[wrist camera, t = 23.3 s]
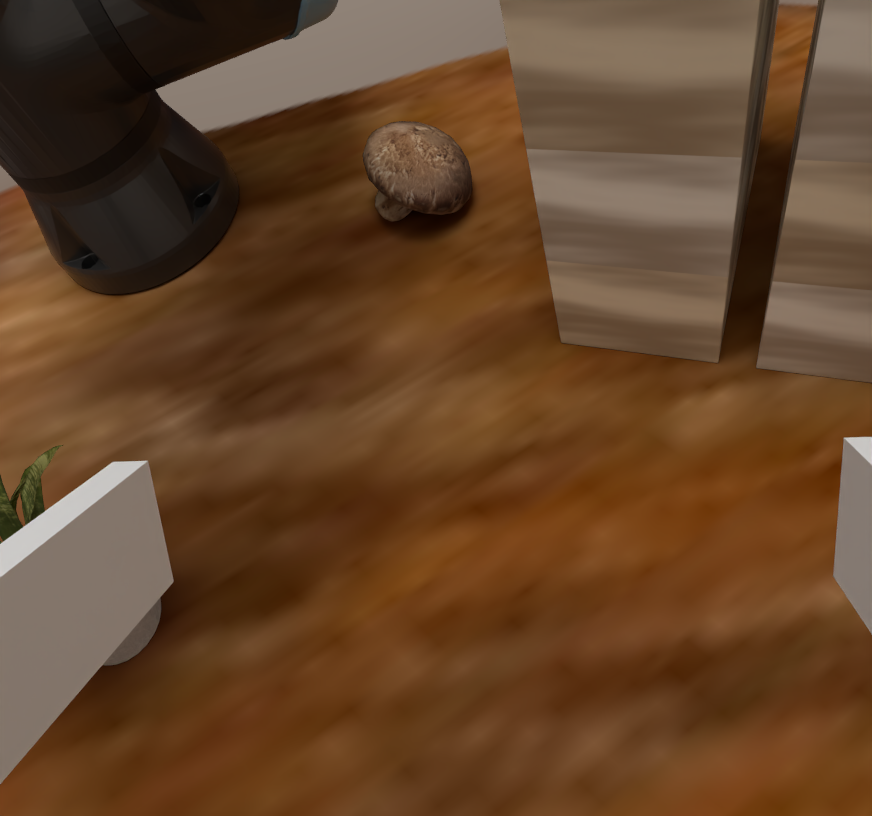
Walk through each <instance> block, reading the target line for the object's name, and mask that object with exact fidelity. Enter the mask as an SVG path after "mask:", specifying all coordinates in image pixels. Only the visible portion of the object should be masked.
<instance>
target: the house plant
mask: <svg viewBox="0 0 872 816" xmlns="http://www.w3.org/2000/svg"><path fill="white" fill-rule="evenodd" d="M60 446H63V445H59V446H56V447H53V448H52V449H50V450H48V451H47V452H45V453H43V454H42V455H41V456H39V457H38V458H37V460H36V461H35V462H34V463H33V464H32V465H31V466H29V467H28V468H27V469H25V471H24V473H23V475H22V478H21V482H20V484H19V485H18V487H17V489H16V490H15V492H14V494H13V495H12V498H11V500H10V501H9V499H8V496H7V493H6V491H5V488H4V485H3V483H2V479H1V476H0V536H1V538H2V540H3V541H5V540H6V539H8V538H9V537H10V536H12V535H13V534H15V533H16V532H17V531H19V530H20V529H21V528H23V526H22V524H21V522H20V521H19V519H18V515H17V512H16V504H17V499H18V496H19V493H20V495H21V500H22V509H23V514H24V519H25V524H26V525H27V524H28V523H30V522H31V521H32V520H34V519H35V518H37V517H38V516H39V515H41V514H42V513H43V512H45V509H44V503H43V496H42V486H41V478H40V477H41V475H42V473H43V471H44V470H45V469H46V467H47V466H48V464H49V463H50V461H51V459H52V458H53V456H54V454H55V452H56V451H57V449H58V448H59V447H60ZM1 543H2V542H1V541H0V544H1ZM160 615H161V599H160V598H159V599H158V601H157V602H156V603H155V604H154V605H153V606H152V608H151V609H150V610H149V611H148V612H147V613H146V615H145V616H144V617H143V618H142V619H141V620H140V622H139V623H138V624H137V625H136V626H135V627H134V629H133V630H132V631H131V632H130V633H129V635H128V636H127V637H126V638H125V639H124V640H123V642H122V643H121V644H120V645H119V646H118V647H117V649H116V650H115V651H114V652H113V653H112V654H111V656H110V657H109V658H108V659H107V660H106V661H105V663H104V664H103V665H105V666H106V665H117V664H119V663H122V662H125V661H128V660H129V659H131V658H132V657H134V656H135V655H137V654H138V653H139V652H140V651H141V650H142V649H143V648H144V647H145V646H146V645H147V644H148V642H149V641H150V639H151V638H152V636H153V635H154V633H155V631H156V629H157V626H158V624H159V621H160Z"/></svg>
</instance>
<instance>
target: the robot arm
mask: <svg viewBox="0 0 872 816" xmlns="http://www.w3.org/2000/svg"><path fill="white" fill-rule="evenodd" d="M337 3H338V0H0V166H2V167H3V169H4V170H6V172H7V173H8V174H9V175H10V176H11V177H12V178H13V179H14V180H15V181H16V183H17V184H18V185H19V186H20V187H21V188H22V190H23V191H24V193H25V195H26V197H27V200H28V202H29V204H30V206H31V209H32V211H33V213H34V215H35V218H36V220H37V222H38V225H39V227H40V229H41V231H42V234H43V236H44V238H45V241H46V243H47V245H48V247H49V250H50V252H51V254H52V255H53V257H54V258H55V260H56V261H57V262H58V264H59V265H60V266H61V267H62V268H63V269H64V270H65V271H66V272H67V273H68V274H69V275H70V276H71V277H72V278H73V279H74V280H75V281H76V282H77V283H78V284H80V285H81V286H83V287H84V288H86V289H89V290H91V291H94V292H98V293H104V294H126V293H132V292H137V291H141V290H145V289H148V288H151V287H154V286H157V285H159V284H162V283H164V282H166V281H168V280H170V279H172V278H174V277H176V276H177V275H179V274H181V273H182V272H184V271H186V270H187V269H188V268H190V267H191V266H193V265H194V264H195V263H197V262H198V261H199V260H200V259H201V258H203V257H204V256H205V255H206V254H207V253H208V252H209V251H210V250H211V249H212V248H213V247H214V246H215V245H216V243H217V242H218V241H219V240H220V238H221V237H222V236H223V234H224V233H225V231H226V230H227V228H228V226H229V225H230V223H231V221H232V219H233V216H234V214H235V211H236V208H237V204H238V198H239V187H238V181H237V178H236V176H235V174H234V172H233V170H232V169H231V167H230V165H229V164H228V162H227V160H226V159H225V157H224V155H223V154H222V152H221V151H220V150H219V148H218V147H217V146H216V145H215V144H214V143H213V142H212V141H211V140H209V139H208V138H207V137H206V136H205V135H203V134H202V133H201V132H200V131H199V130H197V129H196V128H195V127H193V126H192V125H191V124H190V123H189V122H188V121H186V120H185V119H184V118H183V117H182V116H180V115H179V114H178V113H177V112H176V111H174V110H173V109H172V108H171V107H169V106H168V105H167V104H166V103H165V102H163V100H162V99H161V98H160V96H159V95H158V93H157V92H156V90H155V89H158V88H160V87H163V86H165V85H167V84H170V83H172V82H175V81H177V80H180V79H182V78H185V77H187V76H190V75H192V74H195V73H197V72H200V71H202V70H205V69H207V68H210V67H212V66H215V65H217V64H220V63H222V62H225V61H227V60H230V59H232V58H235V57H237V56H240V55H242V54H245V53H247V52H250V51H252V50H255V49H257V48H260V47H262V46H265V45H267V44H270V43H272V42H275V41H278V40H280V39H285V40H286V39H292V38H294V37H296V36H297V35H298V34H299V33H300V32H301V31H302V30H304V29H306V28H308V27H310V26H312V25H314V24H316V23H318V22H320V21H323V20H325V19H326V18H328V17H329V16H330V15H331V14H332V12H333V11H334V9H335V7H336V5H337ZM833 577H834V578H835V580H836V581H837V583H838V584H839V586H840V587H841V589H842V590H843V592H844V593H845V595H846V596H847V598H848V599H849V601H850V602H851V604H852V605H853V607H854V608H855V610H856V611H857V613H858V614H859V616H860V617H861V619H862V620H863V622H864V623H865V625H866V626H867V628H868V629H869V631H870V632H871V634H872V437H852V438H844V443H843V456H842V469H841V482H840V496H839V509H838V522H837V535H836V548H835V561H834V575H833ZM173 582H174V580H173V575H172V571H171V566H170V561H169V557H168V552H167V547H166V543H165V538H164V533H163V528H162V524H161V519H160V514H159V510H158V505H157V500H156V496H155V491H154V486H153V481H152V477H151V472H150V467H149V463H148V461H126V462H112V463H111V464H109V465H108V466H107V467H105V468H104V469H102V470H101V471H100V472H98V473H97V474H96V475H94V476H93V477H91V478H90V479H89V480H87V481H86V482H85V483H83V484H82V485H80V486H79V487H78V488H76V489H75V490H74V491H72V492H71V493H70V494H68V495H67V496H65V497H64V498H63V499H61V500H60V501H59V502H57V503H56V504H54V505H53V506H52V507H50V508H49V509H48V510H46V511H45V512H43V513H42V514H41V515H39V516H38V517H37V518H35V519H34V520H32V521H31V522H30V523H28V524H27V525H26V526H24V527H23V528H21V529H20V530H19V531H17V532H16V533H15V534H13V535H12V536H10V537H9V538H8V539H6V540H5V541H4V542H2V543H1V544H0V784H1V783H2V782H3V780H4V779H5V778H6V777H7V776H8V775H9V773H10V772H11V771H12V770H13V769H14V768H15V766H16V765H17V764H18V763H19V762H20V761H21V759H22V758H23V757H24V756H25V755H26V754H27V752H28V751H29V750H30V749H31V748H32V747H33V745H34V744H35V743H36V742H37V741H38V740H39V738H40V737H41V736H42V735H43V734H44V733H45V731H46V730H47V729H48V728H49V727H50V726H51V724H52V723H53V722H54V721H55V720H56V719H57V717H58V716H59V715H60V714H61V713H62V712H63V710H64V709H65V708H66V707H67V706H68V705H69V703H70V702H71V701H72V700H73V699H74V698H75V696H76V695H77V694H78V693H79V692H80V691H81V689H82V688H83V687H84V686H85V685H86V684H87V682H88V681H89V680H90V679H91V678H92V677H93V675H94V674H95V673H96V672H97V671H98V670H99V668H100V667H101V666H102V665H103V664H104V663H105V661H106V660H107V659H108V658H109V657H110V656H111V654H112V653H113V652H114V651H115V650H116V649H117V647H118V646H119V645H120V644H121V643H122V642H123V640H124V639H125V638H126V637H127V636H128V635H129V633H130V632H131V631H132V630H133V629H134V627H135V626H136V625H137V624H138V623H139V622H140V620H141V619H142V618H143V617H144V616H145V615H146V613H147V612H148V611H149V610H150V609H151V608H152V606H153V605H154V604H155V603H156V602H157V601H158V599H159V598H160V597H161V596H162V595H163V594H164V592H165V591H166V590H167V589H168V588H169V587H170V585H171V584H172V583H173Z"/></svg>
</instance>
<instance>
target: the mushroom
mask: <svg viewBox="0 0 872 816" xmlns="http://www.w3.org/2000/svg"><path fill="white" fill-rule="evenodd" d="M363 161H364V165H365V168H366V171H367V175H368V178H369V180H370V181H371V182H372V183H373V184H374V185H375V187H376V188H377V189H378V192H377V195H376V197H375V207H376V209H377V210H378V212H379V214H380V215H381V216H382V217H383V218H384V219H387V220H389V221H391V222H392V221H399V220H401V219H403V218H404V217H406V216H407V215H408V214H409V213H410V212H411V211H412V210H415V211H418V212H421V213H426V214H438V215H444V214H449V213H453V212H457V211H458V210H460V209H461V208H462V207H463V205H464V204H465V203H466V202H467V201H468V199H469V198H470V196H471V193H472V178H471V171H470V166H469V162H468V160H467V158H466V156H465V155H464V153H463V151H462V150H461V148H460V147H459V145H458V144H457V143H456V142H455V141H454V140H453V139H452V137H450V136H449V135H447V134H445V133H444V132H442V131H441V130H439V129H437V128H436V127H432V126H429V125H426V124H422V123H419V122H405V121H399V122H393V123H389V124H387V125H385V126H383V127H381V128H379V129H377V130H375V131H374V132H373V133H372V134H371V135H370V136H369V138H368V140H367V143H366V146H365V149H364V153H363Z"/></svg>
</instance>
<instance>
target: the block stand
mask: <svg viewBox="0 0 872 816" xmlns="http://www.w3.org/2000/svg"><path fill="white" fill-rule="evenodd" d="M500 5H501V11H502V17H503V22H504V28H505V34H506V39H507V45H508V50H509V56H510V61H511V67H512V72H513V78H514V83H515V89H516V95H517V100H518V106H519V111H520V117H521V122H522V128H523V133H524V139H525V145H526V150H527V156H528V161H529V167H530V172H531V178H532V183H533V189H534V195H535V200H536V206H537V211H538V217H539V222H540V228H541V233H542V239H543V244H544V250H545V256H546V261H547V267H548V272H549V278H550V283H551V289H552V294H553V300H554V306H555V311H556V317H557V322H558V328H559V333H560V339H561V343H567V344H575V345H583V346H590V347H598V348H606V349H614V350H621V351H629V352H637V353H645V354H652V355H660V356H668V357H675V358H683V359H691V360H699V361H706V362H714V363H718V361H719V356H720V350H721V345H722V340H723V334H724V329H725V324H726V319H727V313H728V308H729V303H730V297H731V292H732V287H733V281H734V276H735V271H736V265H737V260H738V255H739V250H740V244H741V239H742V234H743V228H744V223H745V218H746V212H747V207H748V202H749V196H750V191H751V186H752V181H753V175H754V170H755V165H756V159H757V154H758V149H759V143H760V138H761V131H762V124H763V116H764V109H765V102H766V94H767V87H768V80H769V72H770V65H771V58H772V50H773V43H774V36H775V28H776V21H777V14H778V7H779V0H500ZM756 368H760V369H768V370H776V371H784V372H791V373H799V374H807V375H814V376H822V377H830V378H838V379H845V380H853V381H861V382H869V383H872V0H818V6H817V11H816V17H815V22H814V28H813V33H812V39H811V45H810V50H809V56H808V61H807V67H806V72H805V78H804V83H803V89H802V94H801V100H800V105H799V111H798V116H797V122H796V127H795V133H794V139H793V145H792V151H791V157H790V163H789V169H788V175H787V181H786V188H785V194H784V200H783V206H782V212H781V218H780V224H779V231H778V237H777V243H776V249H775V255H774V261H773V267H772V274H771V280H770V286H769V292H768V298H767V304H766V310H765V317H764V323H763V329H762V335H761V341H760V347H759V353H758V360H757V366H756Z"/></svg>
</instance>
